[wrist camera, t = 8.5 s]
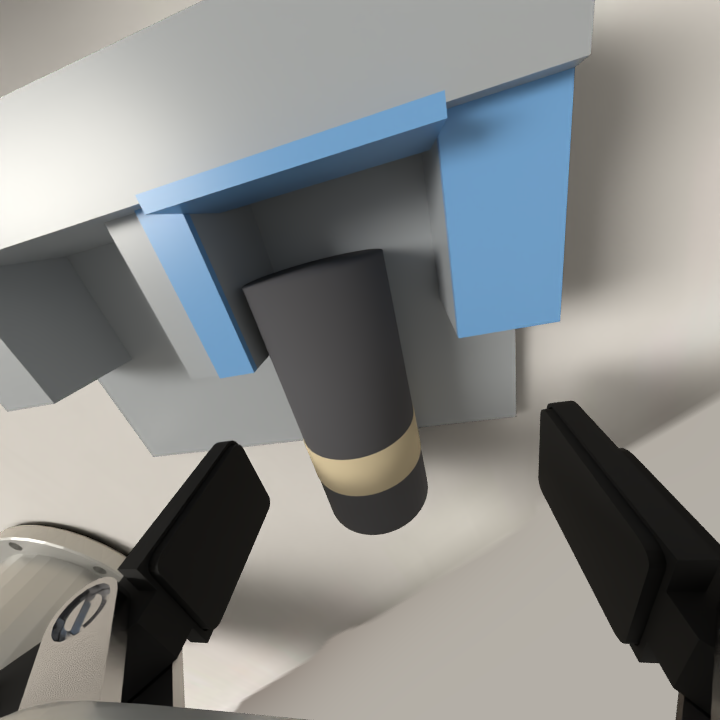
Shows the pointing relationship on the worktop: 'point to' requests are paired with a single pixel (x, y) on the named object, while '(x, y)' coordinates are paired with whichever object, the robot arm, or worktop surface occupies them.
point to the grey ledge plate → (286, 202)
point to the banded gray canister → (346, 384)
